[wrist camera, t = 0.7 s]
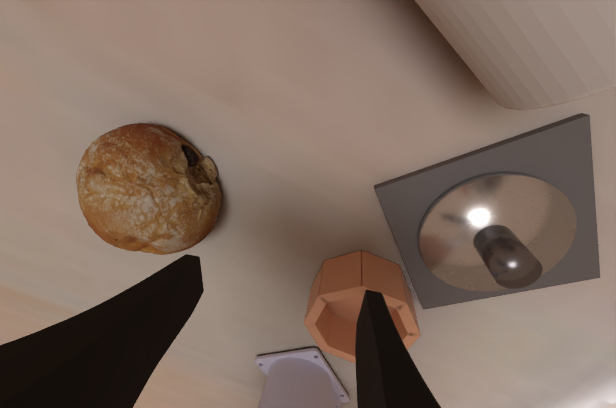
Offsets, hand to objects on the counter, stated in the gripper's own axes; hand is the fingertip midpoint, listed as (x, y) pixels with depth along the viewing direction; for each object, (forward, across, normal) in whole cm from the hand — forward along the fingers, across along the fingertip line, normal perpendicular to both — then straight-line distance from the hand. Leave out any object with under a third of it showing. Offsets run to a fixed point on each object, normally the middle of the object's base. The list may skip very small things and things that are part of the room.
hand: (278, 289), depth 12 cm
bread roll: (+10, +12, +2) cm, 16 cm away
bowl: (+10, -5, +9) cm, 14 cm away
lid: (+9, -12, +1) cm, 16 cm away
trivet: (+10, -12, +1) cm, 16 cm away
